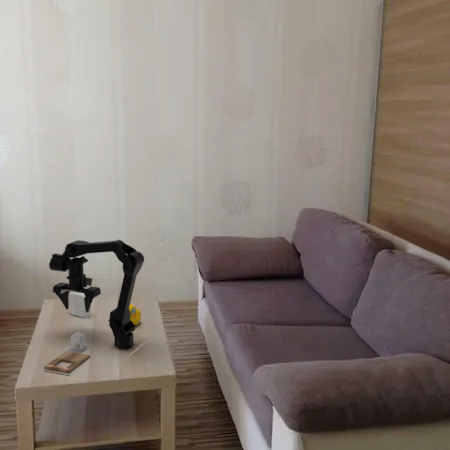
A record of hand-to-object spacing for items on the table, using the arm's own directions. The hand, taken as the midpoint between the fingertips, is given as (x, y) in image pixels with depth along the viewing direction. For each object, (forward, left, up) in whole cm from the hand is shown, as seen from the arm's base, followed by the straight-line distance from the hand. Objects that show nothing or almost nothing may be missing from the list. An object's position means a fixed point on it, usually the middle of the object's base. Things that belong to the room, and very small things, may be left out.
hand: (77, 310), depth 228 cm
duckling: (-13, -22, -13) cm, 29 cm away
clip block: (-6, +9, -12) cm, 16 cm away
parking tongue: (-6, +9, -13) cm, 17 cm away
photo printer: (+14, -25, -13) cm, 32 cm away
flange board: (-9, +21, -13) cm, 26 cm away
